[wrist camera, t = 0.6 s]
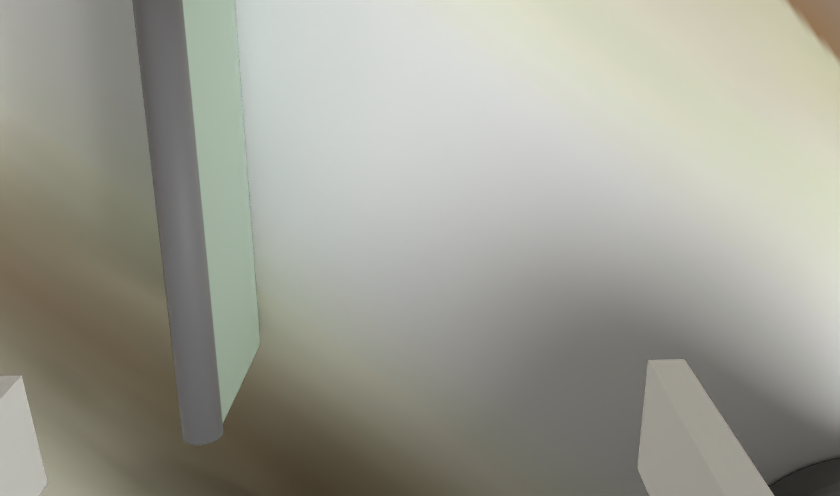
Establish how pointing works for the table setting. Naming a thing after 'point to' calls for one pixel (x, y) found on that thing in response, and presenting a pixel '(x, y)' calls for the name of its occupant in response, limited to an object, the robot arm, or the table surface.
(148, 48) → the pale green flat panel
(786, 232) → the table surface
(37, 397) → the table surface
